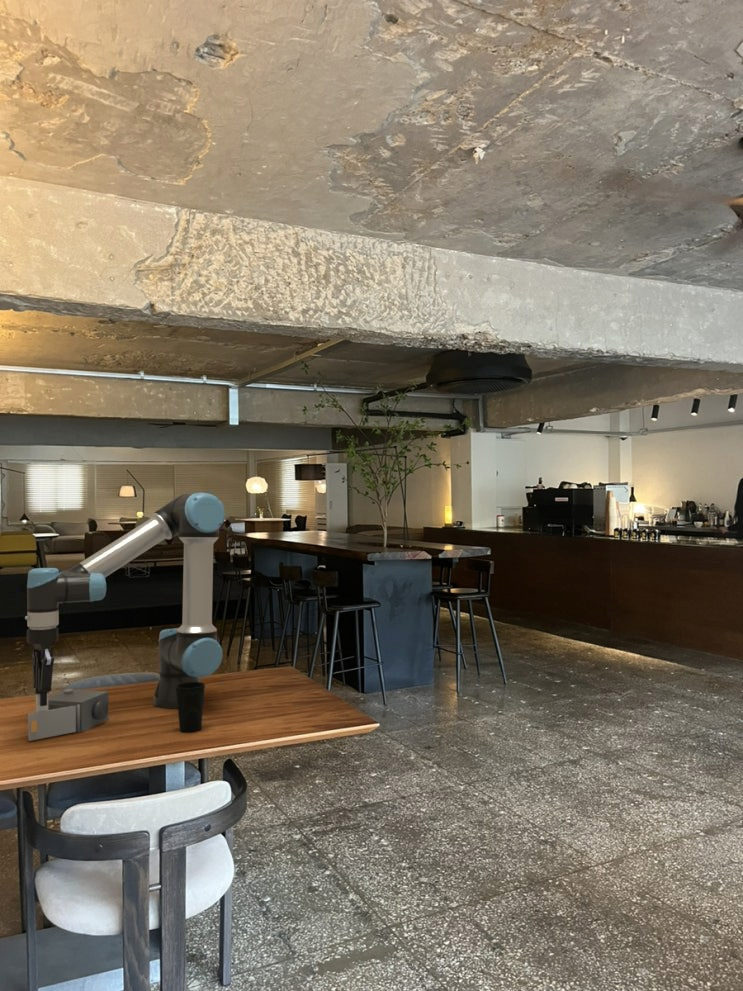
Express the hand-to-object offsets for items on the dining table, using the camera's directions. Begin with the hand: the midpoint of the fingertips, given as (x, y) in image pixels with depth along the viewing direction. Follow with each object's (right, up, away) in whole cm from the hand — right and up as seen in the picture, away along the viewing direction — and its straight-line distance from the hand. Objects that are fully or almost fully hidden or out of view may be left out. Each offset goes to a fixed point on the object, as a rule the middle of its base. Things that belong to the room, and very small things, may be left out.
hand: (42, 717), depth 189 cm
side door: (+3, -5, 0) cm, 6 cm away
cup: (+37, -5, +6) cm, 38 cm away
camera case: (+3, -6, +13) cm, 14 cm away
